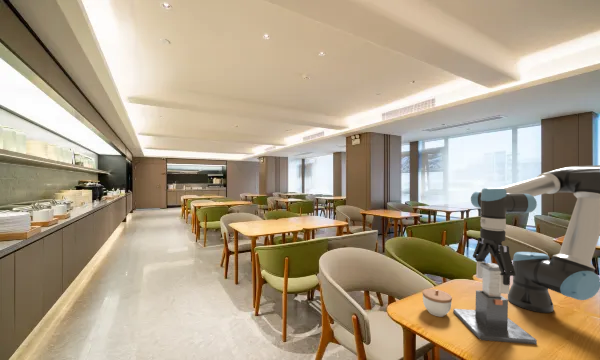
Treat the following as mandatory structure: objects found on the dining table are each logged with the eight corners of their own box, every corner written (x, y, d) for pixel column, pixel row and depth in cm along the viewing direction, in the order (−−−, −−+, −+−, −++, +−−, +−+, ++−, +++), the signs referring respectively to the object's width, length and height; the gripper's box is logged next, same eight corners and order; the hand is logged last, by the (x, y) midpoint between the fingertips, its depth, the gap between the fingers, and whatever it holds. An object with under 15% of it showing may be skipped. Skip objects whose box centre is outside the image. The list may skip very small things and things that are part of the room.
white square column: (493, 318, 97) (494, 263, 97) (503, 325, 92) (504, 268, 91) (479, 317, 97) (480, 262, 97) (487, 324, 92) (488, 267, 92)
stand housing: (499, 315, 102) (500, 286, 102) (536, 344, 85) (537, 308, 85) (453, 312, 104) (454, 283, 104) (479, 339, 86) (480, 305, 86)
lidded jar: (456, 321, 98) (456, 297, 98) (426, 318, 100) (426, 294, 100) (445, 307, 108) (446, 286, 108) (419, 304, 110) (419, 283, 110)
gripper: (464, 222, 107) (463, 272, 107) (505, 235, 82) (504, 300, 82) (482, 223, 106) (481, 273, 106) (530, 236, 81) (528, 301, 82)
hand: (491, 285), depth 94 cm, fingers open, 13 cm apart
